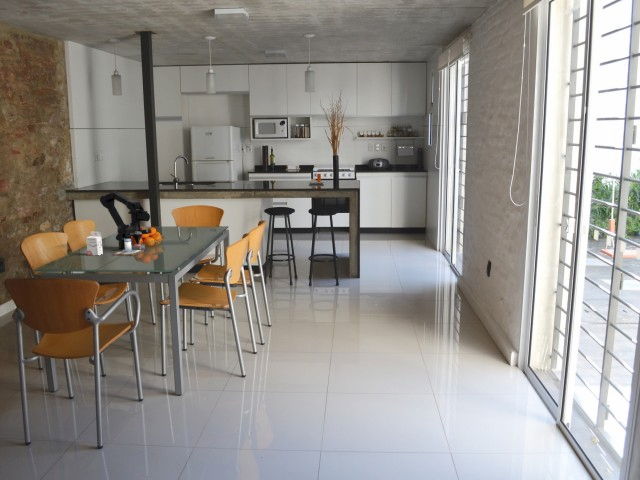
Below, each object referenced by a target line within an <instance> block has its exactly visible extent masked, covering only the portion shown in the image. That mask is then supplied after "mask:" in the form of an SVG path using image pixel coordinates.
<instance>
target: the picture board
mask: <svg viewBox="0 0 640 480" xmlns="http://www.w3.org/2000/svg"><path fill="white" fill-rule="evenodd" d="M144 252H145V249H144V250H132V251H131V252H125V249H121V250H120V251H117V252H114V253H112V256H116V257H117V256H122V257H124V256H125V257H134V256H136V255H138V254H141V253H144Z"/></svg>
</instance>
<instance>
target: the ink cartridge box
mask: <svg viewBox="0 0 640 480" xmlns="http://www.w3.org/2000/svg"><path fill="white" fill-rule="evenodd" d="M85 240H86V250H87V251H86V252H87V256H95V255H99V256H101V254H102V255H103V254H104V253H103V252H104V250H103V242H102V240H103V239H102V234H101V231H92V230H91V231H90V236H86V237H85Z"/></svg>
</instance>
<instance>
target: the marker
mask: <svg viewBox="0 0 640 480" xmlns="http://www.w3.org/2000/svg"><path fill="white" fill-rule="evenodd" d="M124 242H125V249H124V250H125V252H131V251H132V247H131V246H132V238H131V239H124Z"/></svg>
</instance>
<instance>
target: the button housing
mask: <svg viewBox="0 0 640 480" xmlns="http://www.w3.org/2000/svg"><path fill="white" fill-rule="evenodd" d="M145 246H146V244H141V246H134V245H131V247H132V250H144V251H145V249H146V247H145Z"/></svg>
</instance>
